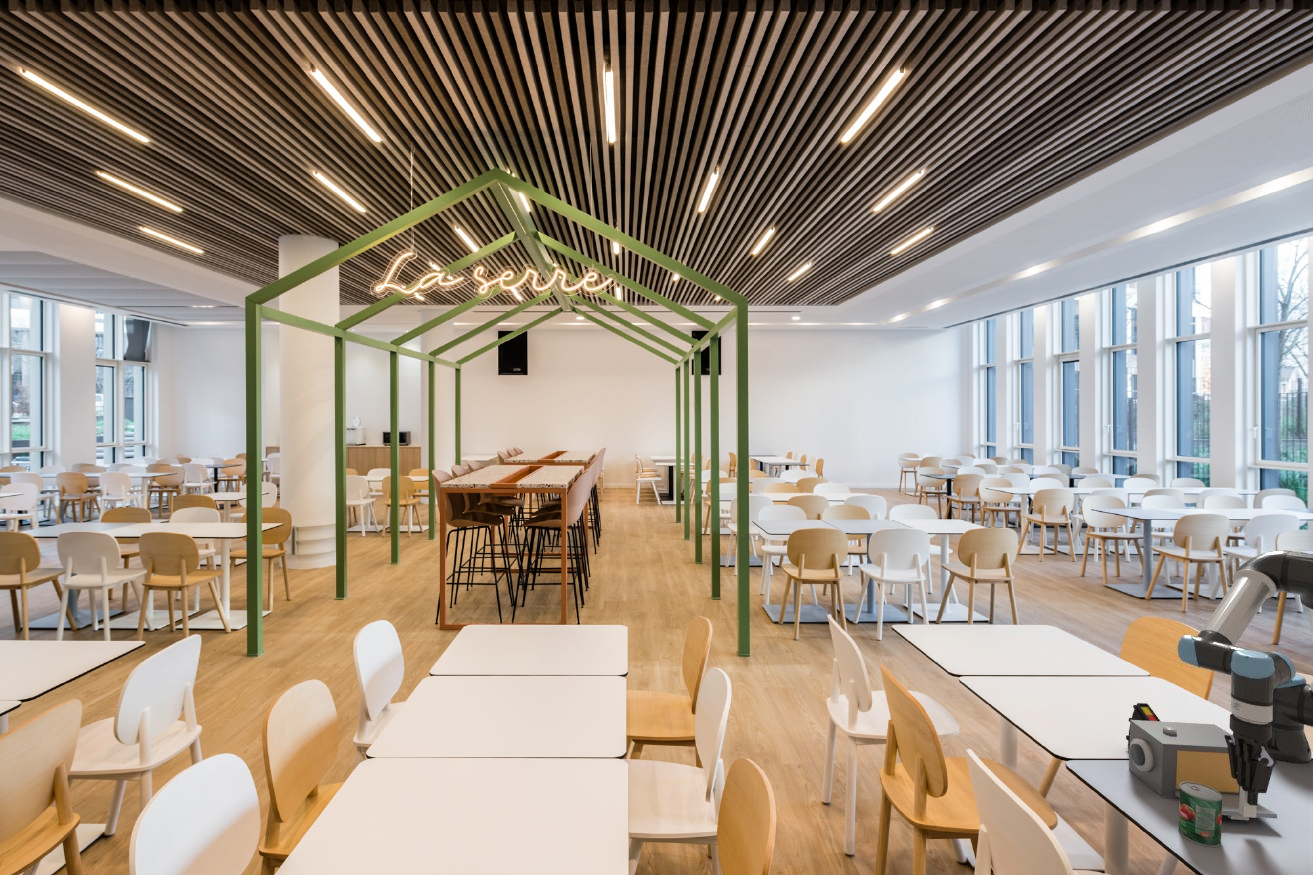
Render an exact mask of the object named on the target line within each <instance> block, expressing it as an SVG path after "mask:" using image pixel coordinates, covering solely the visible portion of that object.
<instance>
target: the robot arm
mask: <svg viewBox="0 0 1313 875" xmlns="http://www.w3.org/2000/svg"><path fill="white" fill-rule="evenodd" d="M1232 582H1233V583H1232V585H1231V586H1230V587H1229V589H1228V591H1227V592H1226V593H1225V595H1224V597H1223V598H1222V599H1221V601H1220V602H1219V604H1218V606H1217V607H1216V608H1215V610H1214V612H1213V613H1212V614H1211V616H1210V617H1209V619H1208V620H1207V621H1206V623H1205V625H1204V626H1203V628H1202V629H1201V631H1200V632H1199V633H1198V634H1197V636H1195V635H1189V634H1184V635H1182V636H1181V637H1180V638H1179V640H1178V644H1177V654H1178V657H1179V659H1180V661H1182V663H1185V664H1188V665H1191V666H1194V667H1196V668H1199V669H1200V668H1201V669H1205V670H1209V671H1212V672H1217V673H1219V674H1223V675H1228V676H1230V713H1231V714H1230V715H1229V730H1231V731H1232V734H1231V735H1225V736H1224V737H1225V740H1226V743H1227V746H1228V754H1229V761H1230V769H1231V776H1232V778H1233V779H1236V780H1237V783H1238V785H1239V797H1240V798H1239V814H1241V815H1242V816H1243V817H1249V818H1257V817H1256V806H1257V804H1259V803H1258V802H1259V801H1258V799H1259V794H1267V792H1268V788H1269V785H1270V780H1271V776H1272V773H1273V770H1274V767H1275V766H1276V765H1277V764H1278V761H1277V760H1279V761H1283V762H1288V763H1289V762H1290V763H1296V764H1302V763H1303V764H1304V763H1310V762H1311V761H1312V755H1313V754H1312V753H1313V752H1312V749H1311V747H1310V743H1309V740H1308V739H1307V736H1306V734H1305V733H1306V732H1305V726H1307V727H1311V728H1313V681H1312V682H1311V683H1307V680H1306V677H1304V676H1302V675H1300V674H1297V669H1296V666H1295V664H1294V661H1292V660H1291V659H1290V657H1288V656H1287V655H1285V654H1283V653H1281V652H1278V651H1265V652H1261V651H1257V650H1252V649H1248V648H1243V647H1241V646H1240V647H1239V646H1236V645H1237V643H1238V642H1240V639H1241V637H1242V636H1243V634H1244V633H1245V631H1247V628H1248V627H1249V626H1250V624H1251V623H1252V620H1253V619H1254V618H1255V616H1256V615H1257V613H1258V612H1259V610H1260V609H1261V608H1262V605H1263V604H1264V603H1265V602H1266V599H1269V598H1272V597H1274V596H1275V594H1277V592H1282V593H1287V594H1294V595H1298V596H1299V598H1300V603H1301V605H1302V606H1304V607H1305V608H1306V609H1308V611H1309V621H1310V629H1311V630H1310V631H1311V638H1312V641H1313V553H1307V552H1300V551H1293V550H1285V549H1284V550H1283V549H1282V550H1281V549H1278V550H1272V551H1267V552H1263V553H1261V554H1259V555H1256V556H1254V557H1252V558H1250V559H1248V560H1246V561H1245V562H1244V563H1243V564H1242V565H1240V566H1239V567H1238V568H1237V569H1236V571H1235V572H1234V573H1233V575H1232ZM1236 772H1237V773H1236Z"/></svg>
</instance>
